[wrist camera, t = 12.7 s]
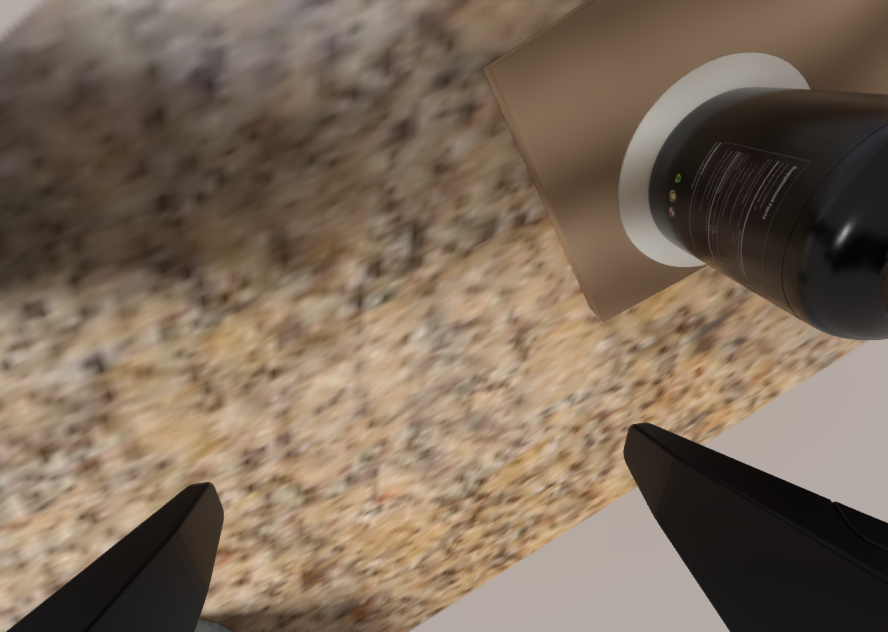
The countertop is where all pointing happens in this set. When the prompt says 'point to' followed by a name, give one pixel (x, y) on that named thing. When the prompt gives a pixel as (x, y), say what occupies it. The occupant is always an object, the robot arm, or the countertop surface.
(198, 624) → the blue-grey cup
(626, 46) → the walnut board
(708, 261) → the supplement bottle
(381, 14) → the countertop surface
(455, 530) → the countertop surface
